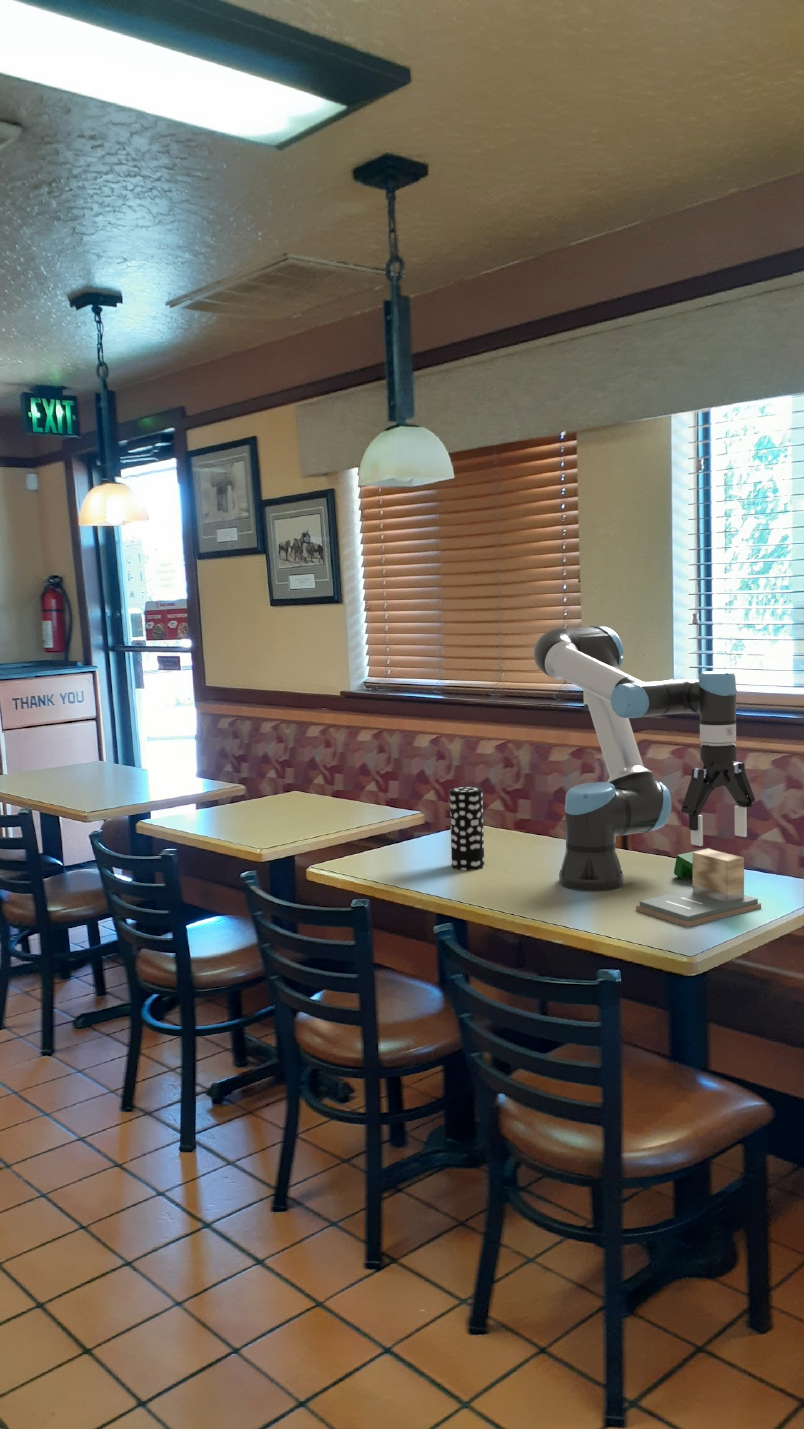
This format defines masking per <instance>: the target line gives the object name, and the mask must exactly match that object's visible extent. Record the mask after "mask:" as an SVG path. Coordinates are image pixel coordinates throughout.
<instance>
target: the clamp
mask: <svg viewBox="0 0 804 1429" xmlns="http://www.w3.org/2000/svg"><path fill="white" fill-rule="evenodd" d="M706 849H711V850H713V849H712V848H710V847H707V848H703V849H698V850H694V851H689V852H684V853H680V854H676V860H675V864H674V870H673V875H674V876H676V877H678V878H679V879H681V880H682V879H683V878H684V879H687V878H686V877H688V878H690V877H689V876H692V878H693V852H697V851H702V850H706ZM684 879H683V880H684Z"/></svg>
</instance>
